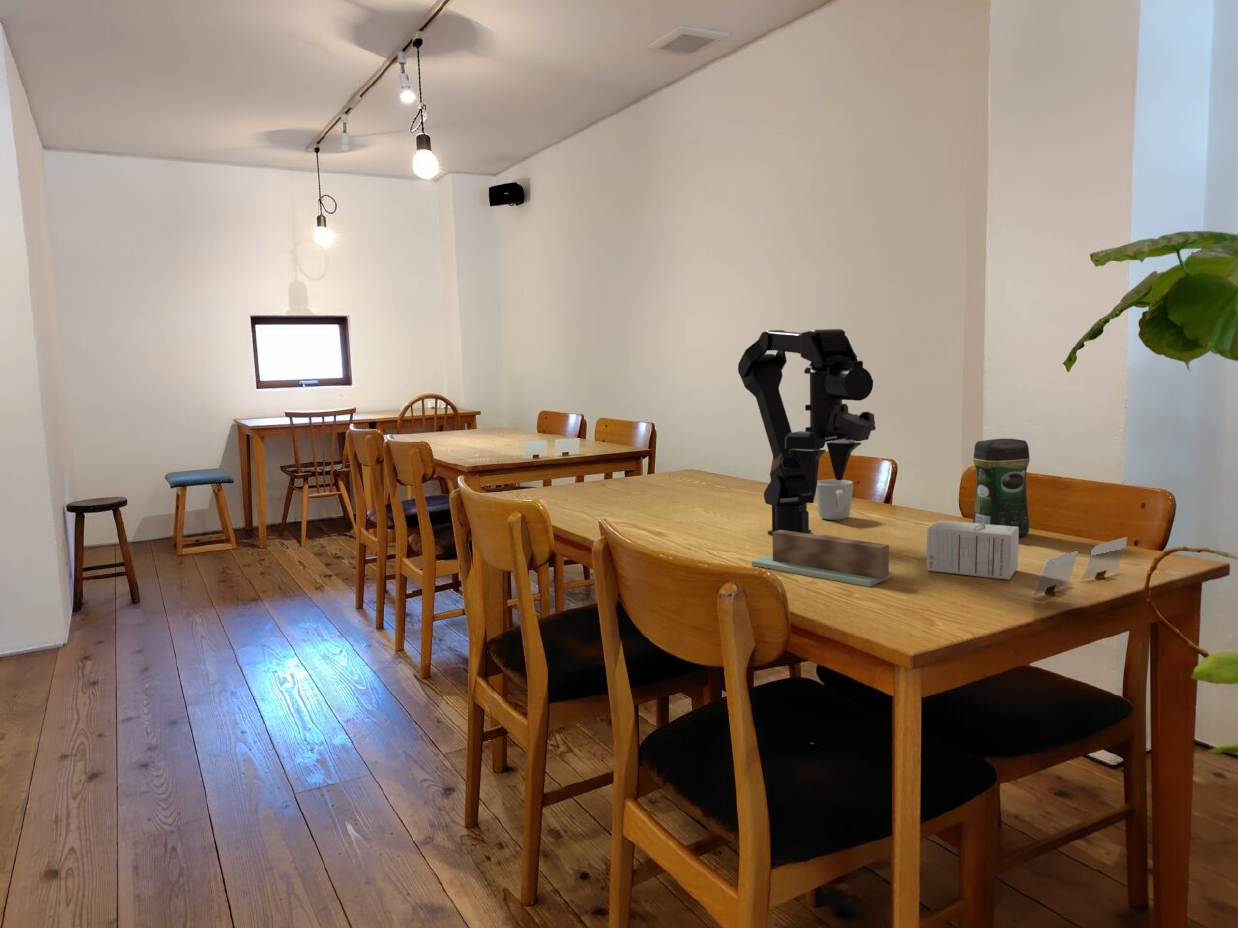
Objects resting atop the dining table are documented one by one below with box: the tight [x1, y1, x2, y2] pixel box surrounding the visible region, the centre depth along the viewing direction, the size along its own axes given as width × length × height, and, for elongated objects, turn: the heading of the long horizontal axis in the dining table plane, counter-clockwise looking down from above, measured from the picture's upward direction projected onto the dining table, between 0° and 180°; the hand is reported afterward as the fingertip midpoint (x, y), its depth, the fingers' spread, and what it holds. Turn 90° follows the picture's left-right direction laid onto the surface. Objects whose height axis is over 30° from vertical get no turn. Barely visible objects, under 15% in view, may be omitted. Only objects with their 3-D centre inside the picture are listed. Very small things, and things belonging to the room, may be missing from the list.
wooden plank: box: [771, 530, 890, 579], centre depth 137 cm, size 20×2×5 cm, turn 46°
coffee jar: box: [972, 438, 1031, 537], centre depth 160 cm, size 10×8×19 cm
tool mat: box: [751, 553, 892, 588], centre depth 139 cm, size 22×7×1 cm, turn 46°
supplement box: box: [926, 520, 1020, 581], centre depth 135 cm, size 7×7×13 cm
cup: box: [815, 479, 854, 521], centre depth 181 cm, size 11×8×8 cm
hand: (826, 483), depth 154 cm, fingers open, 9 cm apart
